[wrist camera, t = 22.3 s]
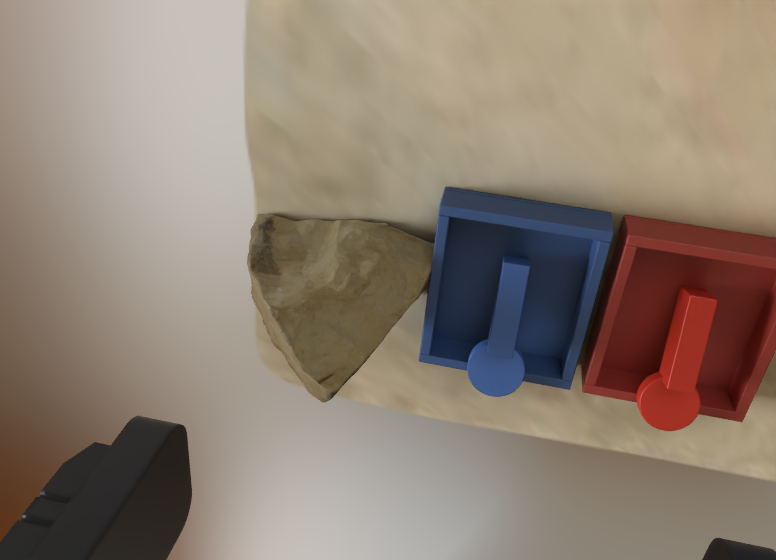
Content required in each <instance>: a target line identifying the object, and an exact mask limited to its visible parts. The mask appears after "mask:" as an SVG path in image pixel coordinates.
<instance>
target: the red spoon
mask: <svg viewBox="0 0 776 560" xmlns="http://www.w3.org/2000/svg"><path fill="white" fill-rule="evenodd" d="M717 303H718V299H716V298H715V297H714V296H713V295H712V294H711V293H709V292H708V291H707V290H704V289H698V288H692V287H686V286H680V289H679V293H678V298H677V302H676V306H675V310H674V314H673V318H672V322H671V326H670V330H669V334H668V338H667V342H666V346H665V350H664V355H663V359H662V363H661V367H660V371H659V372H656V373H654V374H652V375H650V376H648V377H647V378H646V379H645V380H644V381H643V382H642V383H641V385H640V386H639V388H638V391H637V396H636V400H637V405H638V408H639V410H640V412H641V415H642V416H643V418H644V419H645V421H646V422H647V423H648V424H650V425H651V426H653V427H655V428H657V429H660V430H664V431H675V430H679V429H682V428H684V427H686V426H688V425H689V424H690V423H692V422H693V421H694V420H695V418H696V417H697V415H698V413H699V410H700V405H701V401H700V396H699V393H698V391H697V389H696V388H695V387H696V384H697V380H698V376H699V372H700V368H701V364H702V361H703V357H704V353H705V349H706V345H707V341H708V337H709V334H710V330H711V326H712V322H713V318H714V314H715V311H716V307H717Z"/></svg>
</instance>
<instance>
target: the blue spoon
mask: <svg viewBox="0 0 776 560" xmlns="http://www.w3.org/2000/svg"><path fill="white" fill-rule="evenodd" d="M529 270H530V263H529V259H528V258H523V257H517V256H511V255H505V254H504V255H503V260H502V266H501V271H500V277H499V282H498V288H497V293H496V299H495V305H494V310H493V316H492V321H491V327H490V332H489V338H488V339H486V340H483V341H481V342H480V343H478V344H477V345H476V346H475V347H474V348H473V350H472V351H471V353H470V356H469V359H468V367H467V372H468V376H469V379H470V381H471V383H472V384H473V386H474V387H475V388H476V389H477V390H478V391H480V392H482V393H483V394H486V395H489V396H494V397H499V396H505V395H508V394H510V393H512V392H514V391H515V390H516V389H517V388H518V387H519V386H520V385H521V383H522V381H523V379H524V375H525V363H524V358H523V355H522V353H521V351H520V350H519V348H518V347H517V346H516V345H515V344H516V338H517V333H518V328H519V323H520V317H521V312H522V307H523V302H524V297H525V291H526V286H527V281H528V276H529Z"/></svg>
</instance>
